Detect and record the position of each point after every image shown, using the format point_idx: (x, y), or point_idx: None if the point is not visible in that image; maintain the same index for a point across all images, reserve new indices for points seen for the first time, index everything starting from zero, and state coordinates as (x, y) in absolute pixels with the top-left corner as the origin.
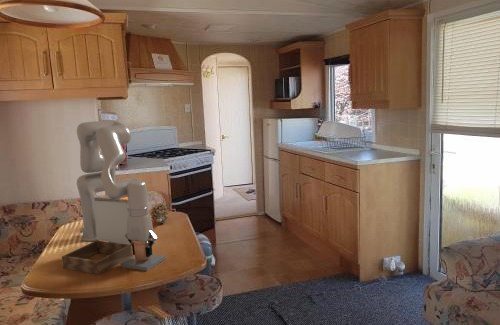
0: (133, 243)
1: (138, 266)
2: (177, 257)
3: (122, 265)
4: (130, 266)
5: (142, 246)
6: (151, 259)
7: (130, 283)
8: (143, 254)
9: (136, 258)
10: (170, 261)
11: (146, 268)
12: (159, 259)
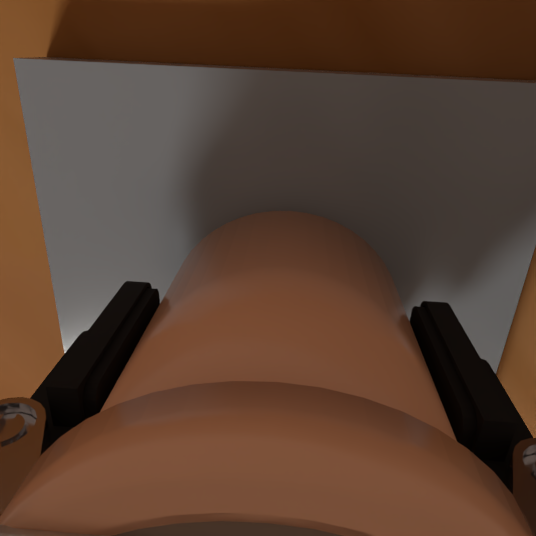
0: (412, 418)
1: (190, 67)
2: None
3: (526, 82)
4: (357, 72)
5: (125, 391)
6: None
7: None
8: (174, 283)
9: (321, 224)
10: (7, 380)
11: (36, 58)
12: (64, 347)
